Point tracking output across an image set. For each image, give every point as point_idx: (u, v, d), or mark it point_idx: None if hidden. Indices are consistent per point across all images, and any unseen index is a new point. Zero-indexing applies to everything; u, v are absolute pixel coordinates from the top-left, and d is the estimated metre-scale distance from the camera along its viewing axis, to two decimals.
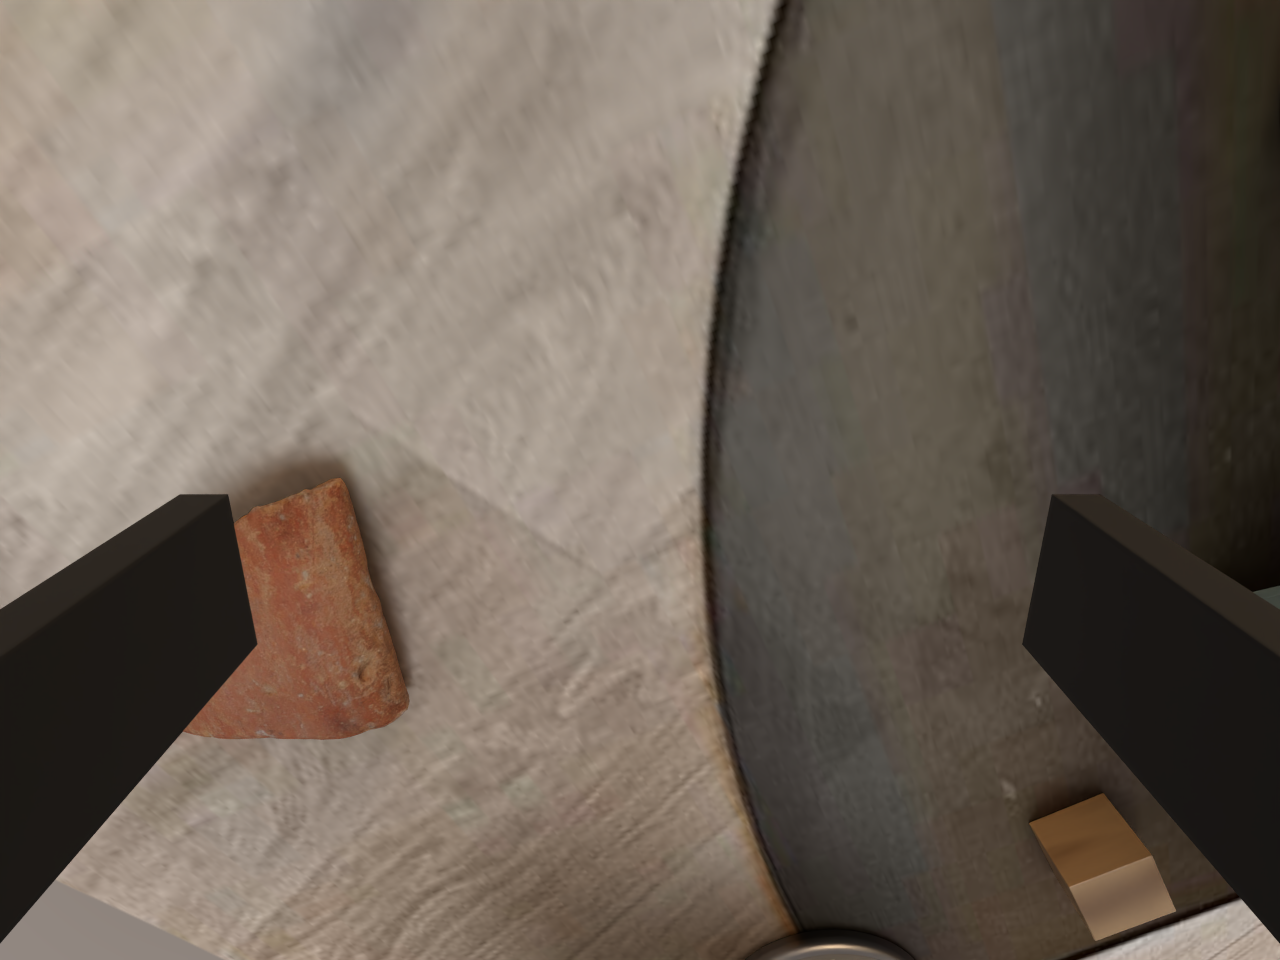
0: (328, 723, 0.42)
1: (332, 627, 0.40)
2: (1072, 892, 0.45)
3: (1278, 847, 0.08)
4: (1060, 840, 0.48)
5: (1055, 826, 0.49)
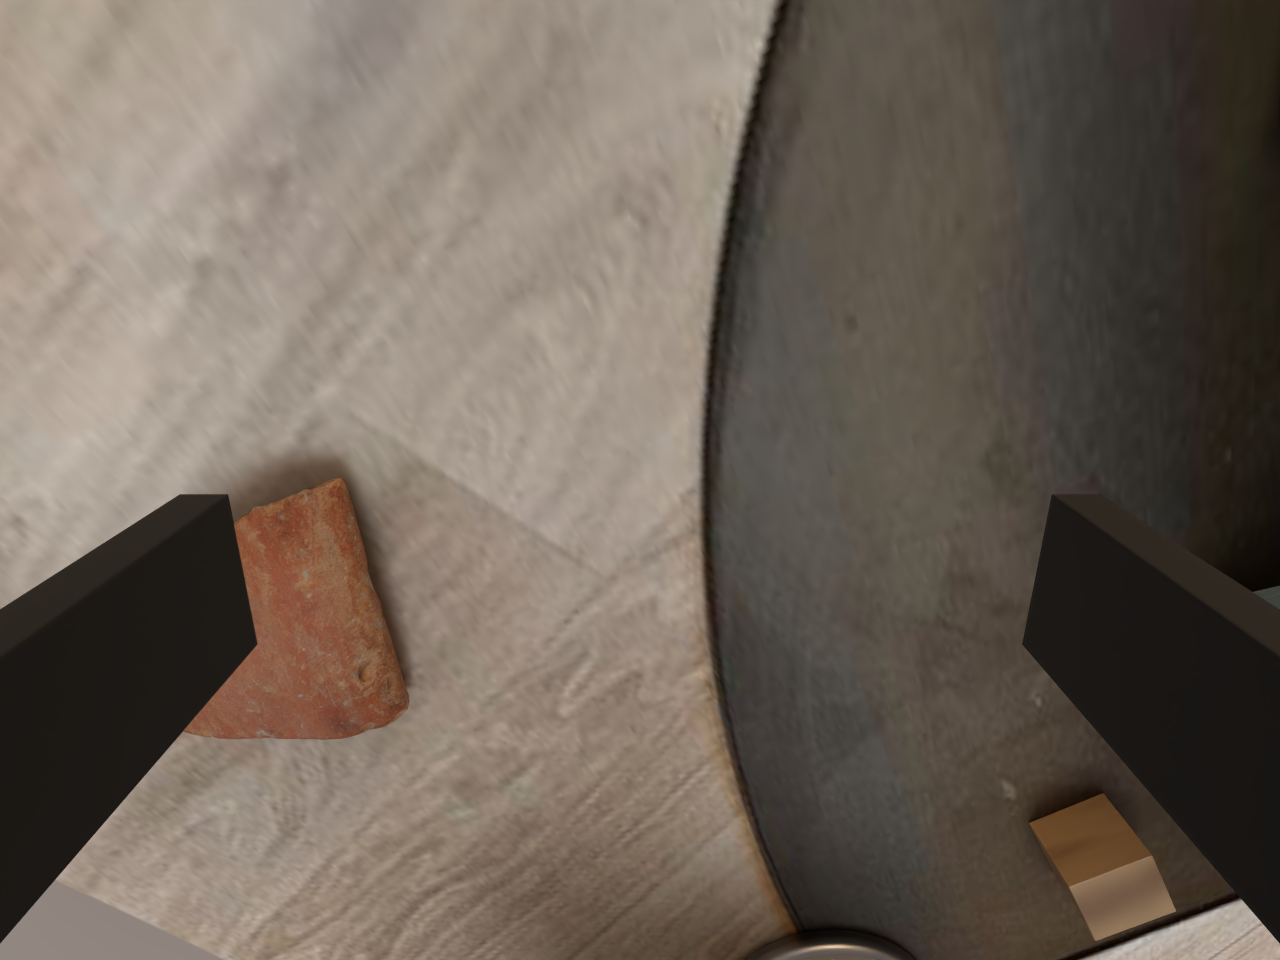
0: (328, 723, 0.42)
1: (332, 627, 0.40)
2: (1072, 892, 0.45)
3: (1278, 847, 0.08)
4: (1060, 840, 0.48)
5: (1055, 826, 0.49)
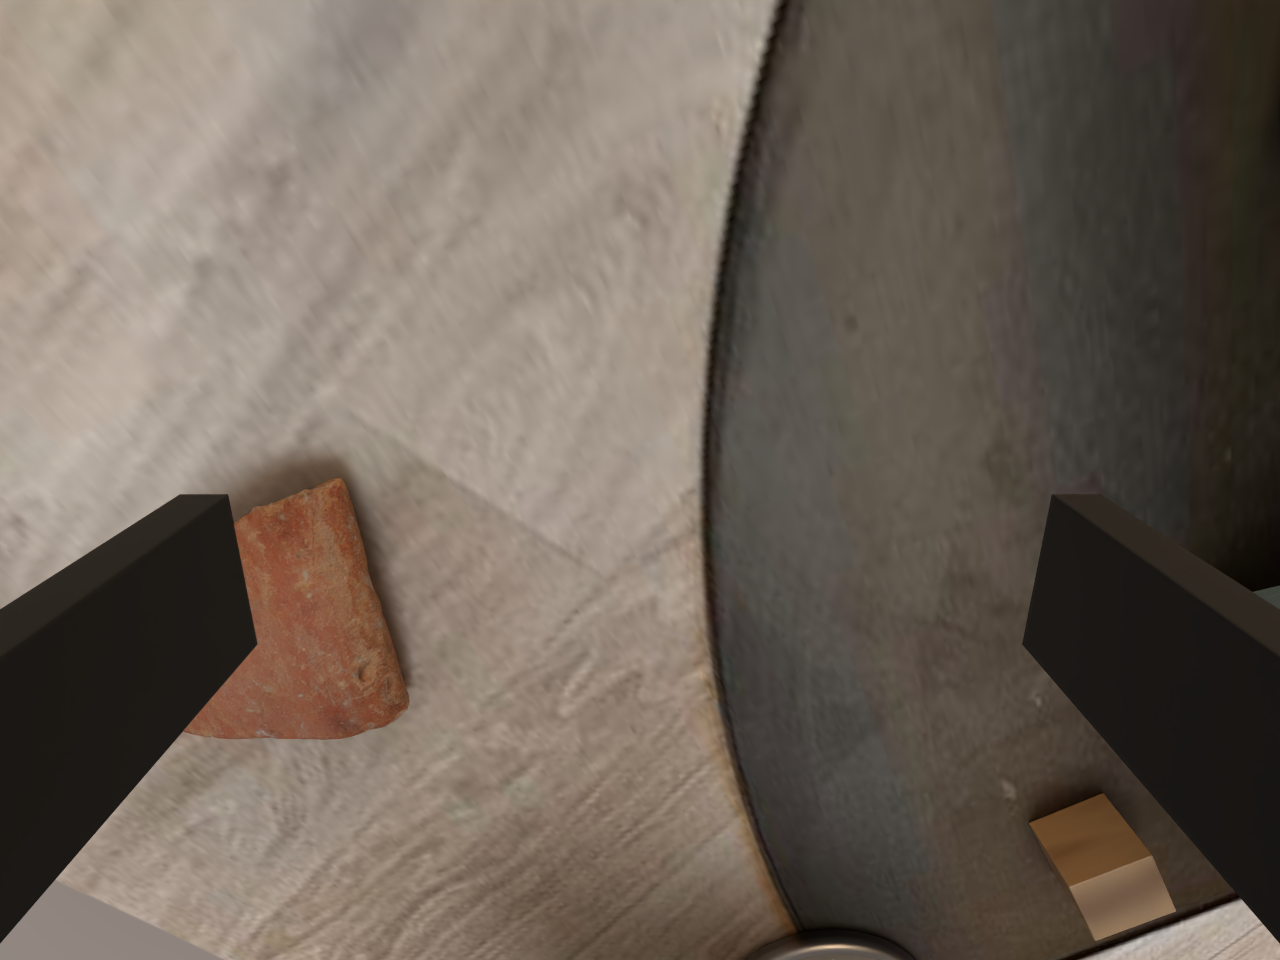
0: (328, 723, 0.42)
1: (332, 627, 0.40)
2: (1072, 892, 0.45)
3: (1278, 847, 0.08)
4: (1060, 840, 0.48)
5: (1055, 826, 0.49)
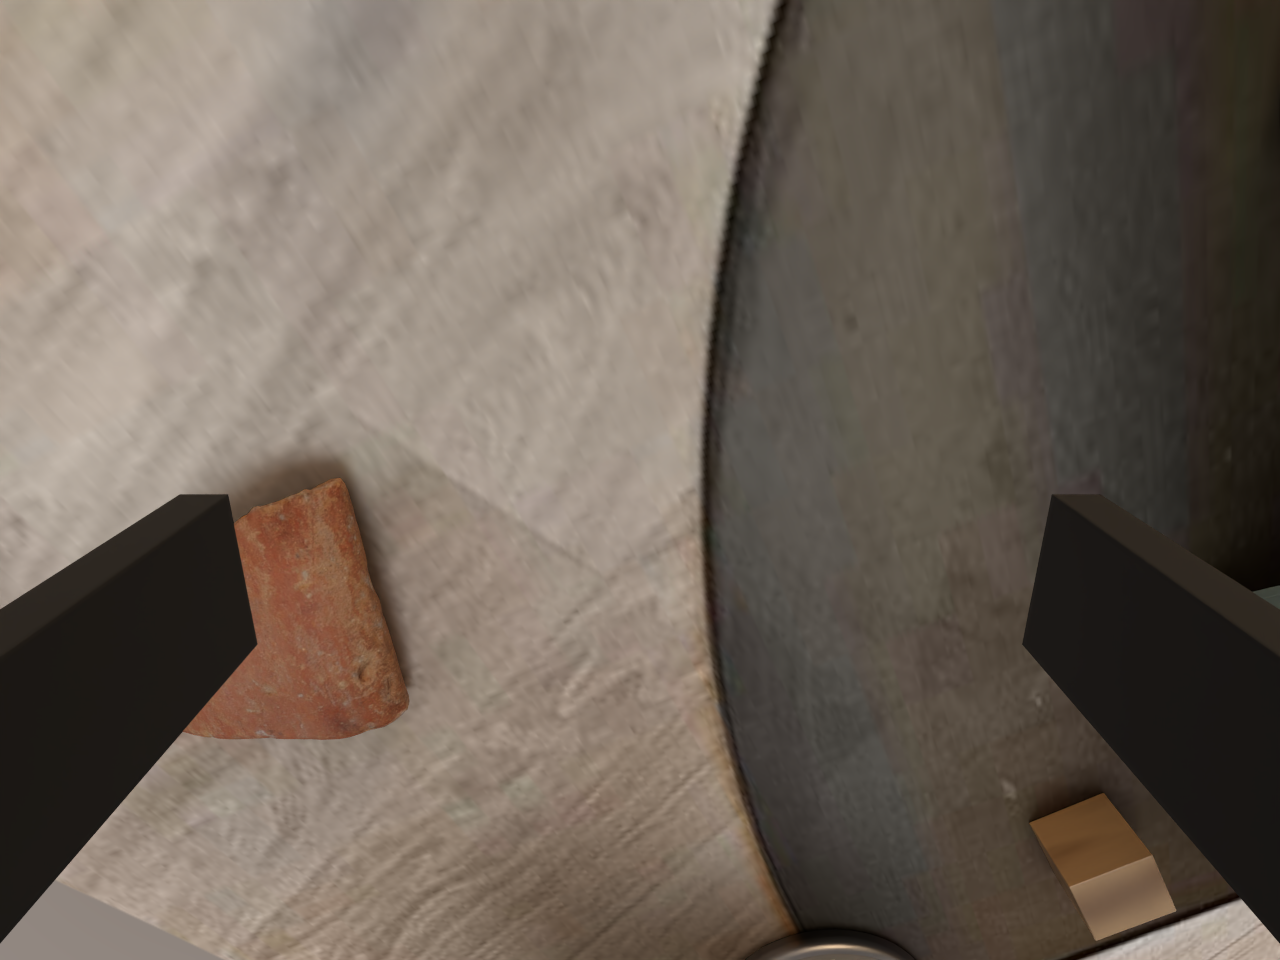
0: (328, 723, 0.42)
1: (332, 627, 0.40)
2: (1072, 892, 0.45)
3: (1278, 847, 0.08)
4: (1060, 840, 0.48)
5: (1055, 825, 0.49)
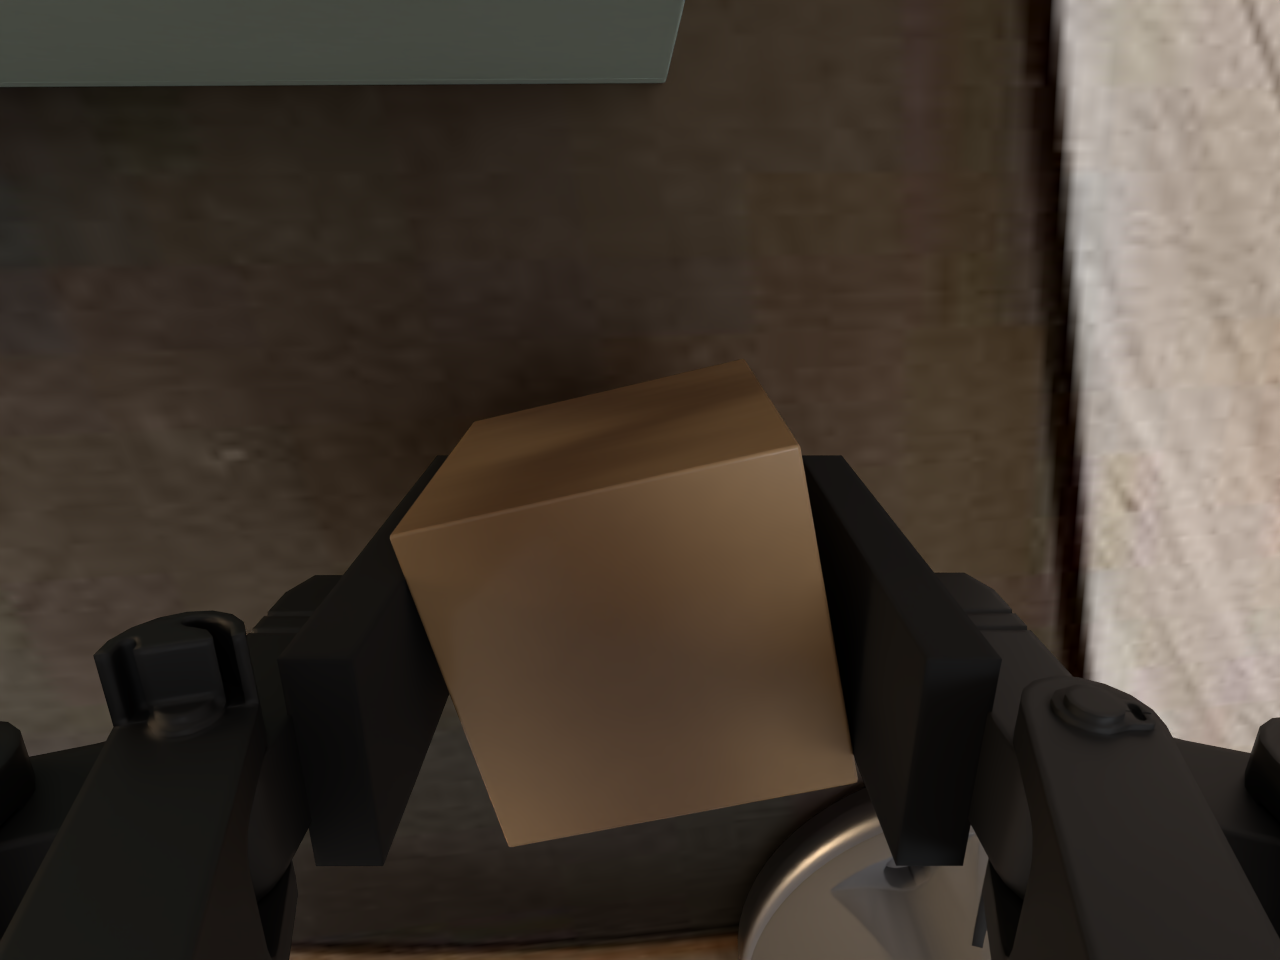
0: None
1: None
2: (542, 838, 0.11)
3: (870, 723, 0.10)
4: None
5: None
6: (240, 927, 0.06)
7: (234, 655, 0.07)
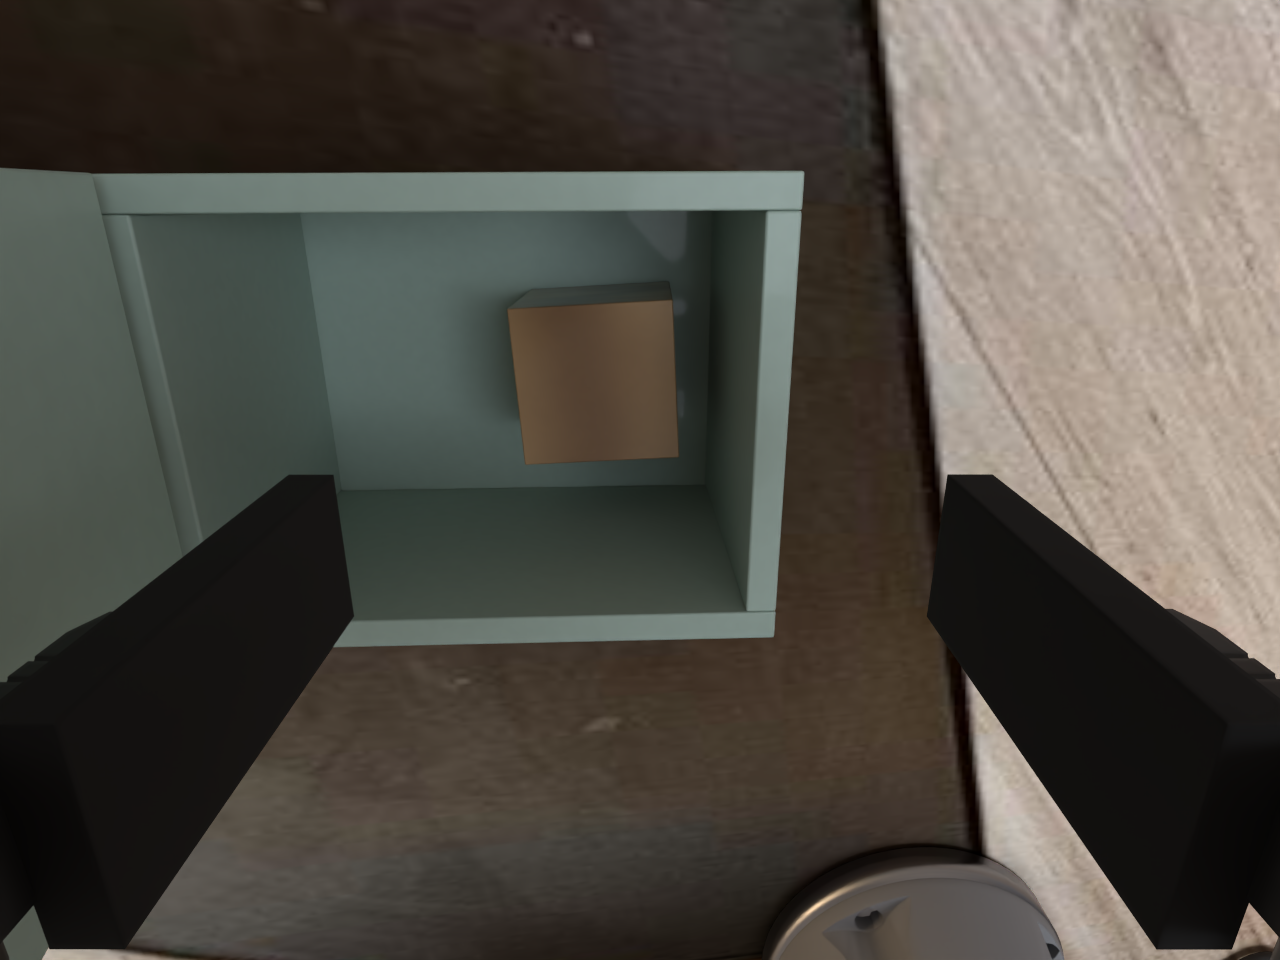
0: None
1: None
2: (540, 462, 0.25)
3: (1099, 782, 0.09)
4: None
5: None
6: None
7: None
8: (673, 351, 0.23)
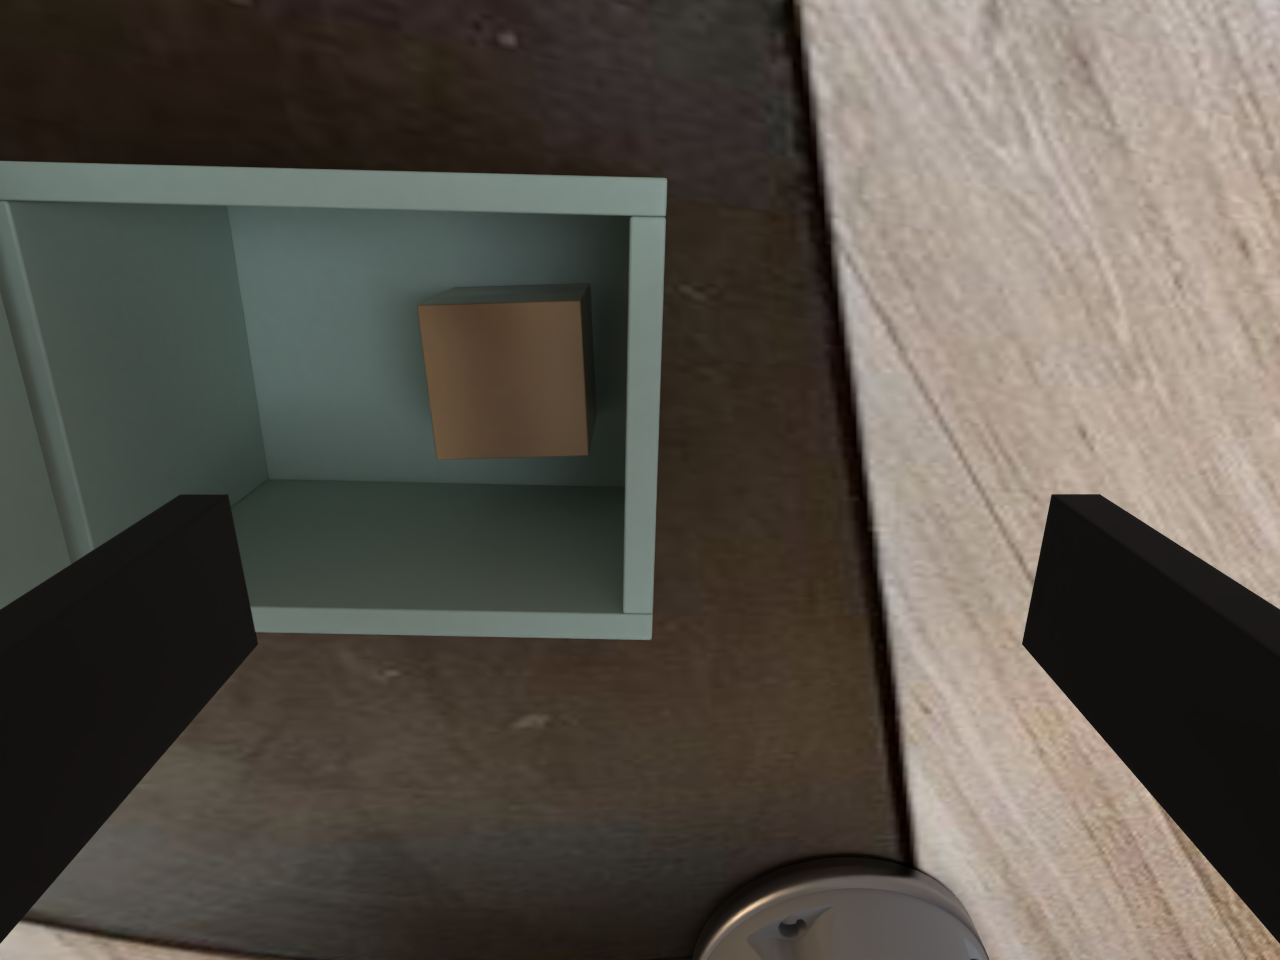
0: None
1: None
2: (452, 458, 0.25)
3: (1277, 847, 0.08)
4: None
5: None
6: None
7: None
8: (581, 351, 0.24)
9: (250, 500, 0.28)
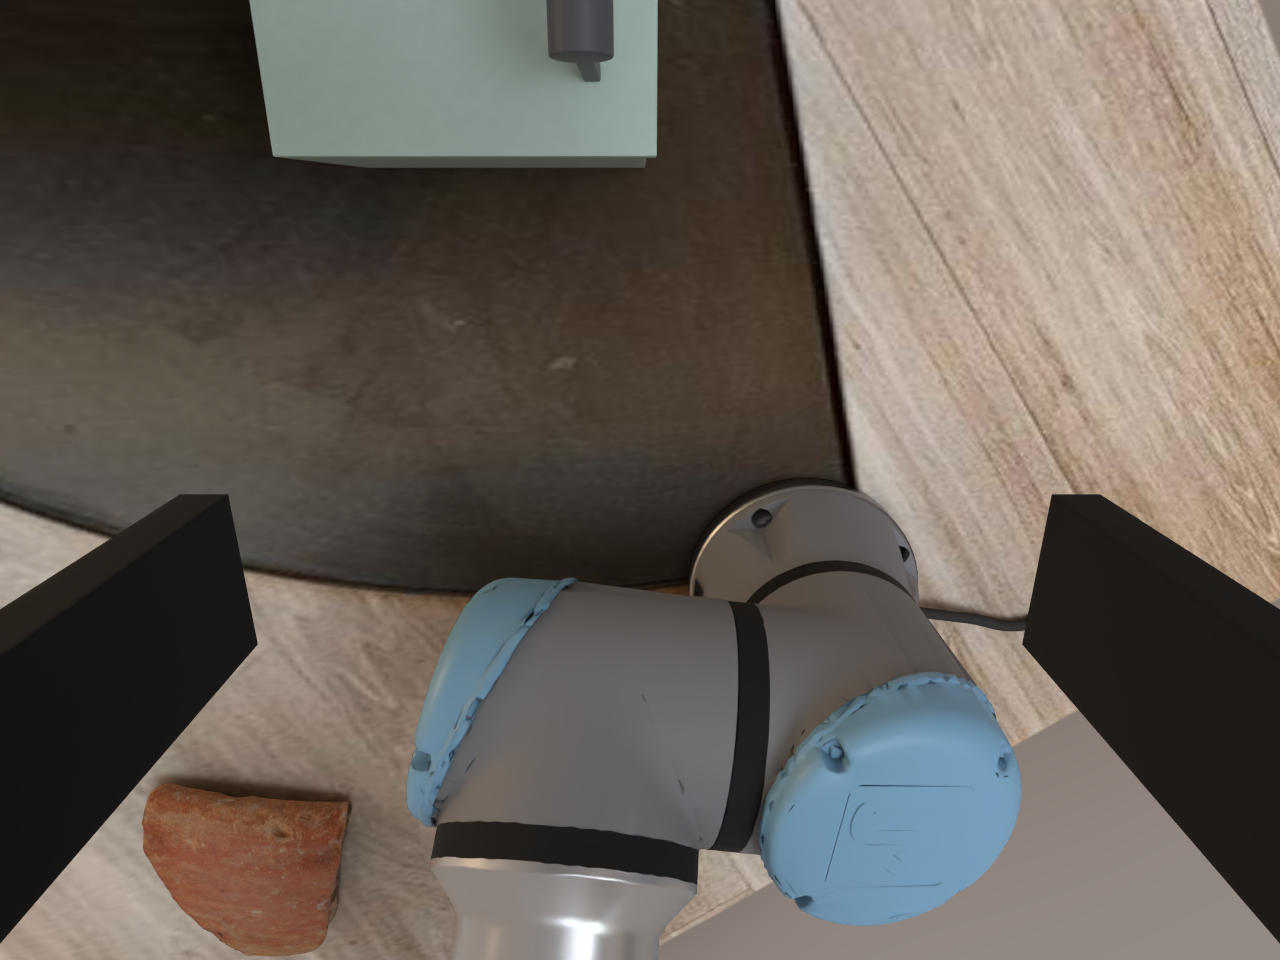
0: (316, 868, 0.57)
1: (231, 840, 0.56)
2: None
3: (1278, 847, 0.08)
4: None
5: None
6: None
7: None
8: None
9: None
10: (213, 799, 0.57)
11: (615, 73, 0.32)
